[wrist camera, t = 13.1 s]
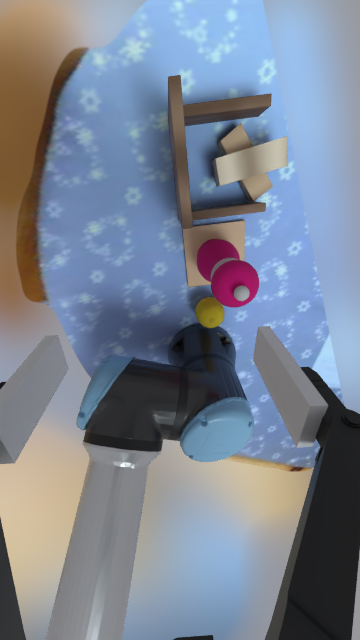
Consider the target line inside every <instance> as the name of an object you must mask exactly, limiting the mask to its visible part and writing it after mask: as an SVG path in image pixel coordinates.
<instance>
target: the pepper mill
mask: <svg viewBox="0 0 360 640" xmlns="http://www.w3.org/2000/svg"><path fill="white" fill-rule="evenodd" d="M197 268H198V271H199V273H200V274H201V275H202V277H203V278H204V279H206V280H207V281H209V282H211V290H212V293H213V295H214V297H215V298H216V299H217V301H219V302H220V303H221V304H223V305H225V306H228V307H240V306H243V305H246V304H247V303H249V302H250V301H251V300H252V299H253V298H254V297H255V295H256V294H257V291H258V288H259V278H258V274H257V272H256V270H255V269H254V268H253V267H252V266H251V265H250V264H249V263H247V262H245V261H242V260H240V256H239V253H238V251H237V249H236V248H235V247H234V245H233V244H231V243H230V242H228V241H226V240H220V239H210V240H208V241H206V242H204V243H203V244H202V245H201V247H200V248H199V250H198V254H197Z"/></svg>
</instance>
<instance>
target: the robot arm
mask: <svg viewBox="0 0 360 640" xmlns="http://www.w3.org/2000/svg"><path fill="white" fill-rule="evenodd" d="M235 359H236V350H235V346H234V344H233V341H232V339H231V337H230V336H229V334H228V333H227V332H226V331H224V330H223V329H221V328H220V327H214V328H207V327H204V326H203V325H201V324H196V325H192V326H189V327H187V328H185V329H183V330H182V331H180V332H179V333H178V334H177V335H176V336H175V337H174V339H173V340H172V342H171V344H170V347H169V363H170V365H168V364H162V363H157V362H151V361H146V360H141V359H135V357H130V358H129V357H121V356H109V357H107V358H105V359H104V360H103V361H102V362H101V363H100V364H99V366H98V368H97V369H96V371H95V373H94V375H93V377H92V379H91V381H90V383H89V386H88V388H87V390H86V393H85V395H84V398H83V401H82V403H81V407H80V412H79V415H78V417H77V426H78V427H79V428H80V429H81V430H85V429H86V432H85V436H84V440H83V445H84V447H85V449H86V450H87V452H88V453H89V457H90V460H89V465H88V468H87V473H86V476H85V480H84V485H83V489H82V493H81V497H80V501H79V505H78V509H77V513H76V517H75V522H74V525H73V530H72V534H71V538H70V542H69V546H68V550H67V554H66V558H65V563H64V566H63V571H62V574H61V578H60V582H59V587H58V591H57V595H56V599H55V603H54V607H53V611H52V615H51V620H50V623H49V628H48V631H47V636H46V640H122V636H123V630H124V624H125V617H126V611H127V604H128V598H129V591H130V585H131V578H132V572H133V565H134V559H135V552H136V546H137V539H138V532H139V526H140V520H141V513H142V507H143V500H144V494H145V487H146V480H147V474H148V468H149V464H150V463H151V461H153V460H154V459H155V458H156V457H157V456H158V455H159V454H160V453H161V449H162V442H163V439H168V440H176V441H180V446H181V448H182V450H183V452H184V454H186V455H187V456H189V458H191V459H193V460H195V461H200V462H212V461H218V460H221V459H225V458H227V457H230V456H231V455H233V454H235V453H237V452H238V451H240V450H241V449H242V448H243V447H244V446H245V445H246V444H247V443H248V442H249V440H250V439H251V437H252V435H253V431H254V421H253V417H252V413H251V410H250V404H249V402H248V401H247V399H246V396H245V394H244V391H243V389H242V386H241V384H240V381H239V379H238V376H237V374H236V371H235ZM253 361H254V363H255V365H256V367H257V369H258V371H259V373H260V375H261V377H262V379H263V381H264V383H265V385H266V387H267V389H268V391H269V393H270V395H271V397H272V399H273V401H274V403H275V405H276V407H277V409H278V411H279V413H280V415H281V417H282V419H283V421H284V423H285V425H286V427H287V429H288V431H289V433H290V435H291V437H292V439H293V441H294V443H295V445H296V447H313V444H314V442H315V439H317V441H318V443H319V444H320V446H321V447H320V449H319V451H318V454H317V456H316V459H315V461H316V463H315V466H314V470H313V474H312V477H311V481H310V484H309V488H308V491H307V495H306V499H305V502H304V506H303V509H302V513H301V517H300V520H299V524H298V527H297V531H296V534H295V538H294V542H293V545H292V549H291V552H290V556H289V559H288V563H287V566H286V570H285V574H284V577H283V581H282V585H281V588H280V591H279V595H278V599H277V603H276V606H275V609H274V613H273V616H272V620H271V623H270V626H269V629H268V632H267V635H266V638H265V640H351V637H352V626H353V614H354V604H355V593H356V583H357V582H356V581H357V572H358V561H359V550H360V414H358V413H357V412H355V411H352V410H349V409H346V407H345V406H344V405H343V404H342V403H341V401H340V400H339V399H338V398H337V396H336V395H335V394H334V393H333V392H332V390H331V389H330V388H329V387H328V385H327V384H326V383H325V382H324V381H323V379H322V378H321V377H320V376H319V374H318V373H317V372H315V371H314V370H312V369H311V368H309V367H299V365H298V364H297V363H296V361H295V360H294V358H293V357H292V356H291V354H290V353H289V352H288V350H287V349H286V348H285V346H284V345H283V344H282V342H281V341H280V340H279V338H278V337H277V336H276V334H275V333H274V332H273V330H272V329H271V328H270V326H265V327H258V331H257V337H256V344H255V350H254V357H253ZM67 370H68V366H67V363H66V360H65V357H64V354H63V350H62V347H61V344H60V341H59V338H58V336H57V335H56V336H45V337H44V339H43V340H42V341H41V342H40V343H39V345H38V346H37V347H36V348H35V349H34V350H33V352H32V353H31V354H30V355H29V356H28V358H27V359H26V360H25V361H24V362H23V363H22V365H21V366H20V367H19V368H18V369H17V370H16V372H15V373H14V374H13V375H12V376H11V378H10V379H9V380H8V381H7V382H1V383H0V464H7V463H15V462H16V460H17V458H18V457H19V455H20V453H21V451H22V449H23V448H24V446H25V444H26V442H27V441H28V439H29V437H30V435H31V434H32V432H33V430H34V428H35V426H36V425H37V423H38V421H39V419H40V418H41V416H42V414H43V412H44V411H45V409H46V407H47V405H48V404H49V402H50V400H51V398H52V396H53V395H54V393H55V391H56V389H57V387H58V386H59V384H60V382H61V381H62V379H63V377H64V375H65V374H66V372H67ZM0 640H26V638H25V634H24V630H23V625H22V620H21V615H20V611H19V605H18V601H17V596H16V591H15V586H14V581H13V577H12V572H11V567H10V562H9V557H8V553H7V548H6V543H5V538H4V533H3V529H2V524H1V519H0ZM174 640H213V635H208V636H194V637H181V638H176V639H174Z"/></svg>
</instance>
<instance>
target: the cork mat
mask: <svg viewBox="0 0 360 640" xmlns="http://www.w3.org/2000/svg"><path fill="white" fill-rule="evenodd" d="M183 238H184V248H185V259H186V269H187V279H188V287H193V286H202V285H210V284H211V282H209V281H207V280H206V279H204V278H203V277H202V275H201V274H200V273H199V271H198V268H197V254H198V250H199V248H200V247H201V245H202V244H203V243H204V242H206V241H208V240H210V239H220V240H226V241H228V242H230V243H231V244H233V245H234V247H235V248H236V249H237V251H238V253H239V256H240V260H242V261H244V244H245V220H241V221H233V222H225V223H216V224H208V225H200V226H193V228H189V229H183Z"/></svg>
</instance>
